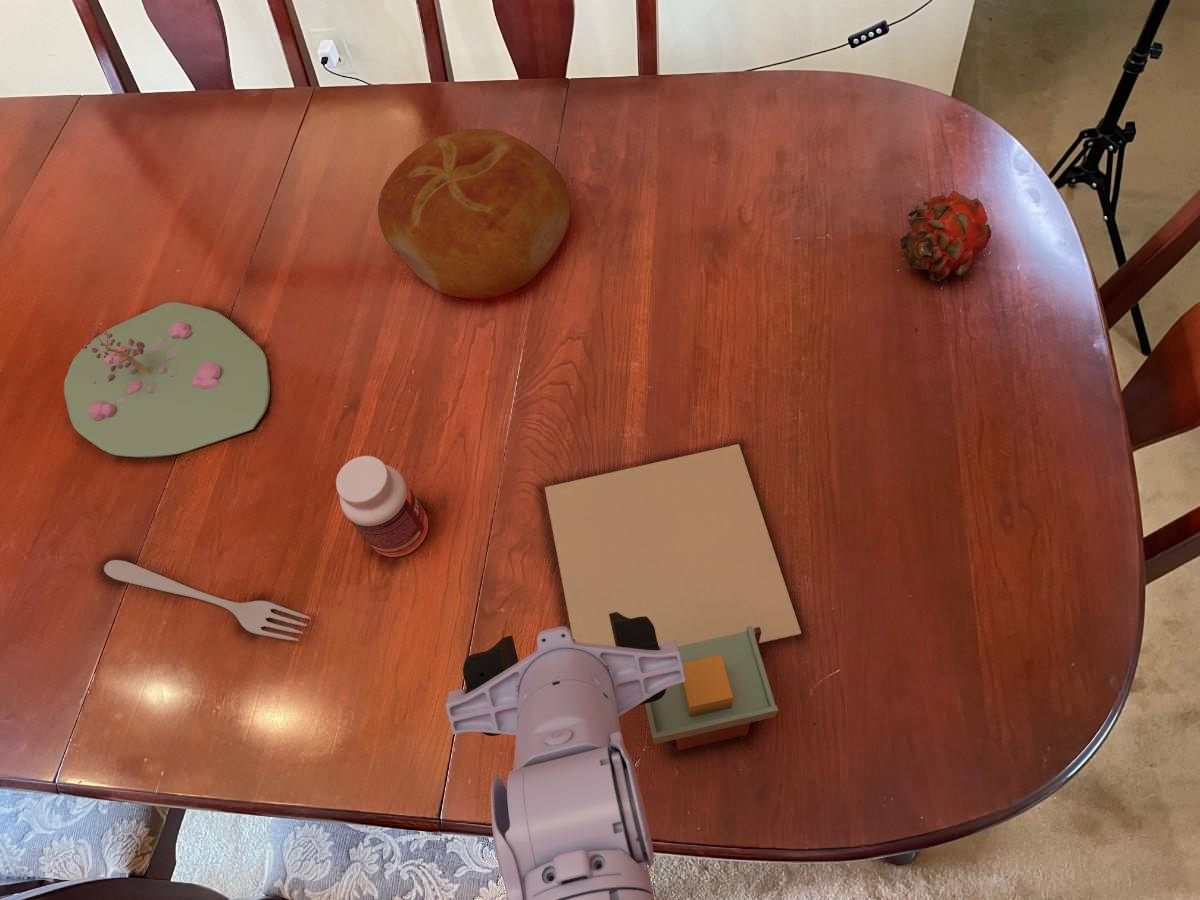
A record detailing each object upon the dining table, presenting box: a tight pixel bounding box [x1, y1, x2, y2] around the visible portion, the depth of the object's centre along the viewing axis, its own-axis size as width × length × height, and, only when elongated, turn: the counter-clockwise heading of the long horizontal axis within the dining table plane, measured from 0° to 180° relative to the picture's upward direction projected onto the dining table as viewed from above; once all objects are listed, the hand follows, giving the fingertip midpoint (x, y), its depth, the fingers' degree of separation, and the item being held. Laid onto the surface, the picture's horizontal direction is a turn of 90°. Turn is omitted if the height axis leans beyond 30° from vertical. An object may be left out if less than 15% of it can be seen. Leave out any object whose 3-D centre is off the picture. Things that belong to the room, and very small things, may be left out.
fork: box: [103, 559, 312, 642], centre depth 82 cm, size 3×24×2 cm, turn 71°
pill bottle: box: [335, 455, 429, 558], centre depth 80 cm, size 6×6×11 cm
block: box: [681, 654, 733, 717], centre depth 66 cm, size 3×3×3 cm
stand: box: [675, 627, 761, 751], centre depth 71 cm, size 7×12×6 cm, turn 101°
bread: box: [377, 128, 572, 300], centre depth 99 cm, size 23×23×10 cm
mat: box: [544, 443, 802, 647], centre depth 80 cm, size 20×20×1 cm
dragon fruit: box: [899, 190, 992, 283], centre depth 92 cm, size 8×8×12 cm
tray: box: [573, 626, 779, 745], centre depth 68 cm, size 10×16×2 cm, turn 101°
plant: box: [63, 301, 271, 459], centre depth 93 cm, size 25×21×9 cm
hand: (563, 637), depth 60 cm, fingers open, 7 cm apart
